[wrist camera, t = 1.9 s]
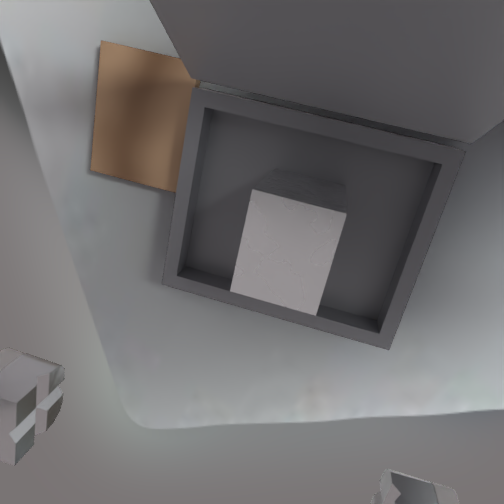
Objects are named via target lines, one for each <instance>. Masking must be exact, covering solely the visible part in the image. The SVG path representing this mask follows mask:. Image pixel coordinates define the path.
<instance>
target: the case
mask: <svg viewBox="0 0 504 504" xmlns="http://www.w3.org/2000/svg"><path fill="white" fill-rule="evenodd" d="M465 153H466V151H463V150H460V149H458V148H455V147H452V146H447V145H443V144H439V143H435V142H430V141H426V140H422V139H418V138H413V137H409V136H405V135H401V134H396V133H392V132H388V131H384V130H379V129H375V128H371V127H367V126H363V125H358V124H354V123H350V122H346V121H341V120H337V119H333V118H329V117H324V116H320V115H316V114H312V113H307V112H303V111H299V110H295V109H290V108H286V107H282V106H278V105H273V104H269V103H265V102H261V101H256V100H252V99H248V98H244V97H239V96H235V95H231V94H227V93H222V92H218V91H214V90H210V89H205V88H196V87H192V93H191V99H190V106H189V112H188V119H187V125H186V132H185V138H184V144H183V151H182V157H181V164H180V170H179V177H178V183H177V189H176V196H175V202H174V209H173V215H172V222H171V228H170V234H169V241H168V247H167V254H166V260H165V266H164V273H163V279H162V284H163V285H166V286H170V287H173V288H176V289H180V290H183V291H187V292H190V293H194V294H197V295H201V296H204V297H208V298H211V299H214V300H218V301H221V302H225V303H228V304H232V305H235V306H239V307H242V308H245V309H249V310H252V311H256V312H259V313H263V314H266V315H270V316H273V317H276V318H280V319H283V320H287V321H290V322H294V323H297V324H301V325H304V326H307V327H311V328H314V329H318V330H321V331H325V332H328V333H332V334H335V335H339V336H342V337H345V338H349V339H352V340H356V341H359V342H363V343H366V344H370V345H373V346H376V347H380V348H383V349H387V350H389V349H390V346H391V344H392V341H393V339H394V336H395V333H396V331H397V328H398V326H399V323H400V321H401V318H402V315H403V313H404V310H405V308H406V305H407V302H408V300H409V297H410V295H411V292H412V290H413V287H414V284H415V282H416V279H417V277H418V274H419V271H420V269H421V266H422V264H423V261H424V259H425V256H426V253H427V251H428V248H429V246H430V243H431V240H432V238H433V235H434V233H435V230H436V228H437V225H438V222H439V220H440V217H441V215H442V212H443V209H444V207H445V204H446V202H447V199H448V197H449V194H450V191H451V189H452V186H453V184H454V181H455V178H456V176H457V173H458V171H459V168H460V166H461V163H462V160H463V158H464V155H465ZM274 168H276V169H279V170H283V171H287V172H291V173H295V174H299V175H303V176H307V177H311V178H315V179H319V180H323V181H327V182H331V183H335V184H339V185H343V186H346V204H347V215H346V219H345V222H344V225H343V229H342V232H341V235H340V238H339V242H338V245H337V248H336V251H335V255H334V258H333V261H332V265H331V268H330V271H329V274H328V278H327V281H326V284H325V287H324V291H323V294H322V297H321V301H320V304H319V307H318V310H317V314H316V316H315V315H311V314H308V313H304V312H301V311H297V310H294V309H290V308H287V307H283V306H280V305H276V304H273V303H269V302H266V301H263V300H259V299H256V298H252V297H249V296H245V295H242V294H238V293H235V292H231V291H230V288H231V284H232V279H233V275H234V270H235V266H236V261H237V257H238V252H239V247H240V243H241V238H242V234H243V229H244V225H245V220H246V216H247V211H248V206H249V202H250V197H251V193H252V189H253V188H254V187H255V186H256V185H257V184H258V183H259V182H260V181H262V180H263V179H264V178H265V177H266V176H267V175H268V174H269V173H270V172H271V171H272V170H273V169H274Z"/></svg>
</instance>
